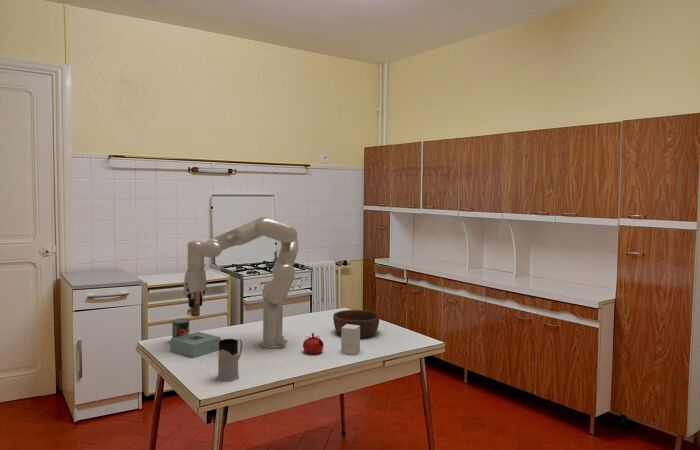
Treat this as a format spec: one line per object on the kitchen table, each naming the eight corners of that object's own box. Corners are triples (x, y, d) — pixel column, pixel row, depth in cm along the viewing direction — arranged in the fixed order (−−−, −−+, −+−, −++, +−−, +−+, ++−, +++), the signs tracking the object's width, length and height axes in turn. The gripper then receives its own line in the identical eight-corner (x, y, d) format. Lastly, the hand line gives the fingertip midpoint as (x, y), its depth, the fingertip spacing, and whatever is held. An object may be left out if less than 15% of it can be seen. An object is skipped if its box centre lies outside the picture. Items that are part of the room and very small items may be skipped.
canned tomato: (183, 345, 259) (183, 323, 258) (169, 344, 260) (169, 321, 259) (191, 340, 266) (191, 319, 266) (177, 339, 268) (177, 318, 267)
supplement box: (360, 351, 256) (360, 325, 255) (355, 355, 249) (356, 328, 248) (345, 349, 258) (346, 323, 257) (340, 353, 251) (341, 327, 250)
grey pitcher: (212, 379, 214) (212, 342, 213) (232, 368, 227) (232, 334, 226) (231, 382, 211) (231, 345, 210) (250, 371, 224) (250, 336, 223)
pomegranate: (304, 356, 246) (304, 337, 245) (300, 350, 256) (300, 331, 255) (325, 354, 249) (325, 335, 248) (321, 348, 259) (321, 329, 258)
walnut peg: (201, 315, 250) (201, 290, 250) (194, 316, 247) (194, 291, 246) (195, 314, 253) (196, 289, 252) (188, 315, 249) (189, 290, 248)
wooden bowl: (387, 332, 290) (388, 314, 290) (363, 343, 269) (364, 323, 269) (349, 325, 304) (349, 307, 303) (323, 335, 283) (323, 315, 282)
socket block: (220, 349, 253) (220, 337, 253) (193, 358, 240) (193, 345, 239) (197, 343, 262) (197, 331, 262) (170, 351, 249) (170, 338, 248)
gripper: (204, 265, 257) (204, 302, 258) (175, 268, 243) (175, 308, 245) (215, 266, 253) (214, 304, 254) (186, 270, 239) (186, 310, 240)
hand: (195, 306), depth 249 cm, fingers closed on walnut peg, 4 cm apart
